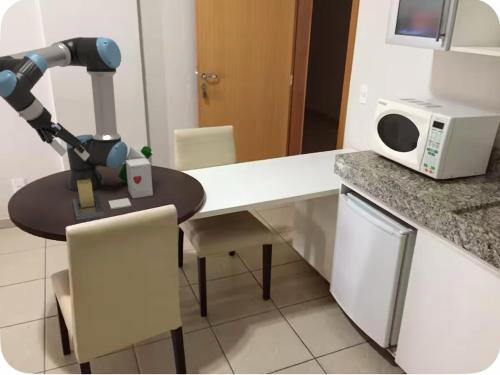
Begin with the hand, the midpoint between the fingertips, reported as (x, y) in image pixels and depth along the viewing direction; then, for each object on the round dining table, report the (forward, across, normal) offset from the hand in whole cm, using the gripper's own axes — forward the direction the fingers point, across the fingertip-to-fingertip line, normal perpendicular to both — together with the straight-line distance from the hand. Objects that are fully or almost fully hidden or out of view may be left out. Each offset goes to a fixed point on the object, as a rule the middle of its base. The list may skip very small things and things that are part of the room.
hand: (75, 155), depth 156 cm
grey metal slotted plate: (+23, -5, -10) cm, 25 cm away
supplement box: (+37, 0, +10) cm, 38 cm away
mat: (+29, +1, -1) cm, 29 cm away
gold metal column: (+23, -5, -10) cm, 25 cm away
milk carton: (+38, -15, +17) cm, 44 cm away
